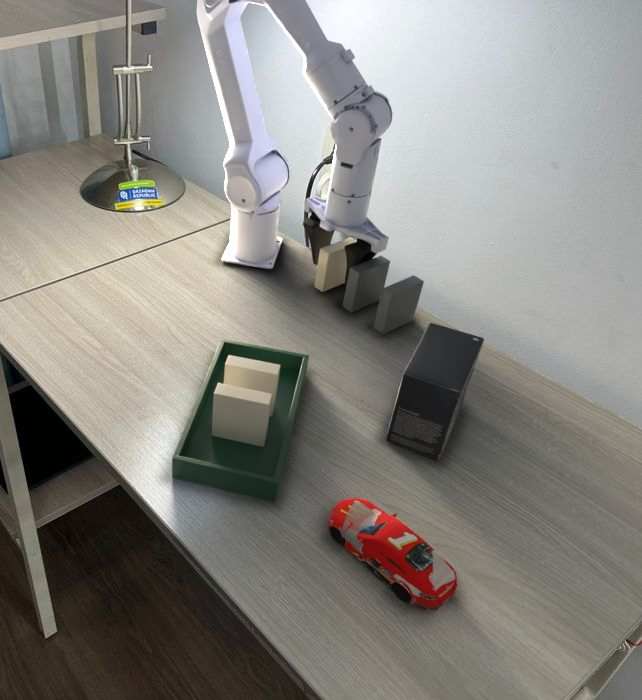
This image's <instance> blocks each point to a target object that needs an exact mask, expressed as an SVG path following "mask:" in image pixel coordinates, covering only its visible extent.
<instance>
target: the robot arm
mask: <svg viewBox="0 0 642 700" xmlns="http://www.w3.org/2000/svg"><path fill="white" fill-rule="evenodd" d="M250 3H251V4H255V5H260V6H264V7H265V8H267V9H268V11H269V12H270V13H271V15H272V16H273V17H274V19H275V20H276V22H277V23H278V24H279V26H280V27H281V28H282V30H283V31H284V33H285V34H286V35H287V37H288V38H289V39H290V41H291V42H292V44H293V45H294V47H295V48H296V49H297V50H298V51H299V53H300V54H301V56H302V57H303V67H302V75H303V76H304V78H305V80H306V81H307V83H308V84H309V85H310V88H311V89H312V90H313V92H314V94H315V95H316V97H317V98H318V100H319V102H320V103H321V104H322V106H323V108H324V109H325V111H326V112H327V114H328V115H329V117H330V118H331V119H332V122H330V125H329V128H330V131H329V132H330V135H331V138H332V140H333V141H334V144H335V146H334V147H335V148H334V153H333V159H332V165H331V170H330V171H331V172H330V177H329V178H330V179H329V184H328V191H327V196H326V197H327V198H326V199H323V198H321V197H319V196H317V195H312V196H310V197H307V198H304V204H303V205H304V207H303V211H304V212H306V213H307V214H310V215H309V217H308V218H305V219H303V221H302V227H303V228H304V230H305V232H306V234H307V237H308V241H309V244H310V250H311V259H312V264H314V266H318V260H319V254H320V249H321V248H323V247H326V246H329V245H331V244H332V239H333V236H334V233H335V232H338V233H341V234H344V235H347V236H350V237H352V238H353V239H355V240H356V242H354V243H351V244H348V245H346V246H345V247H344V249H345V253H346V259H347V268H346V275H345V283H344V285H345V286H346V287H347V281H348V276H349V271H350V268H351V267H353V266H356V265H358V264H361V263H363V262H366V261H368V260H371V259H373V258H375V257H376V255H378V254H379V253H381V252H384V251H386V250H387V248H388V242H389V236H387V235H386V234H384V233H383V232H382V231H381V230H380V229H379V228H378V227H377V226H376V225H375V224H374V222H373V221H372V220H370V218H369V217H368V212H369V207H370V202H371V197H372V192H373V187H374V183H375V177H376V172H377V167H378V161H379V155H380V150H381V149H380V148H381V145H382V138H381V136H382V135H384V134H385V133H386V132H387V130H388V129H389V128H390V126H391V124H392V121H393V110H392V106H391V104H390V102H389V101H390V100H389V98H388V97H387V96H386V95H385V94H384V93H381V92H379V91H375V89H374V88H373V86H372V85H371V84H370V85H369V84H368V83H367V81H366V79H365V78H364V77H363V75H362V74H361V71H360V70H359V69H358V67H357V66H356V64H355V62H354V59H355V58H356V56H355V54H354V53H353V51H352V49H351V48H347V49H345V47H344V45H343V44H342V43H340V42H335V41H332V40H328V38H327V36H326V34H325V33H324V31H323V29H322V27H321V26H320V24H319V22H318V20H317V18H316V17H315V15H314V13H313V11H312V9H311V7H310V6H309V4H308V2H307V1H306V0H197V1H196V18H197V22H198V26H199V30H200V33H201V38H202V41H203V45H204V50H205V53H206V57H207V60H208V64H209V68H210V73H211V76H212V80H213V85H214V87H215V91H216V95H217V99H218V103H219V106H220V110H221V114H222V117H223V123H224V126H225V131H226V133H227V137H228V141H229V148H228V151H227V153H226V155H225V158H224V161H223V164H222V165H223V170H224V174H225V177H224V178H225V179H224V184H223V187H224V188H223V189H224V193H225V197H226V199H227V201H228V202H229V203H230V207H231V213H230V214H231V215H230V227H229V228H230V231H229V243H228V244H227V246H226V249H225V250H224V253H223V255H222V257H221V261H222V262H224V263H228V264H229V263H230V264H235V265H241V266H247V267H254V268H261V269H266V270H272V269H273V268H274V265H275V263H276V260H277V257H278V254H279V252H280V248H281V246H282V243H283V237H281V236H278V227H279V220H280V219H279V218H280V210H281V209H280V208H281V197H282V192H283V191H282V190H283V189H285V188H286V187H287V186H288V185H289V183H290V181H291V178H292V167H291V165H290V162H289V161H288V159H287V158H286V156H285V155H284V153H283V151H282V149H281V146H280V145H281V144H280V142H279V140H278V139H276V138H275V137H274V136H272V135H271V134H269V133H268V130H267V126H266V122H265V118H264V113H263V109H262V104H261V100H260V96H259V91H258V88H257V83H256V79H255V75H254V71H253V67H252V64H251V58H250V54H249V50H248V46H247V45H248V44H247V43H246V42H247V40H246V37H245V32H244V29H243V25H242V20H241V17H242V14H243V13H244V11H245V9H246V7H247V6H248V4H250Z"/></svg>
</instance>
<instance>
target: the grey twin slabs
mask: <svg viewBox="0 0 642 700" xmlns="http://www.w3.org/2000/svg"><path fill="white" fill-rule="evenodd" d="M390 264H391V260H390V259H387V258H386V257H384V256H383V255H378V256H375V257H374V258H373V259H371V260H368V261H366V262H363V263H361V264H358V265H356V266H353V267H351V268H350V271H349V276H348V281H347V286H346V288H345V292H344V298H343V303H342V307H343V308H345V309H346V310H347V311H348V312H350V313H353V312H356V311H358V310H360V309H362V308H365V307H366V306H369V305H371V304H374V303H377V302H378V301H379V302H378V305H377V310H376V315H375V318H374V323H373V329H375V330H376V331H377V332H379V333H380V334H381V335H385V334H387V333H389V332H391V331H393V330H395V329H397V328H399V327H402V326H403V325H406V324H408V323H411V322H412V321H414V318H415V314H416V312H417V308H418V305H419V301H420V297H421V293H422V290H423V286H424V283H425V281H424V280H423V279H421V278H420V277H418V276H416V275H413V274H412V275H411V276H409V277H405V278H404V279H401V280H400V281H396V282H394V283H392V284H389V285H387V286H385V285H386V281H387V277H388V274H389V273H388V272H389V269H390Z"/></svg>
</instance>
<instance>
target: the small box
mask: <svg viewBox="0 0 642 700" xmlns="http://www.w3.org/2000/svg"><path fill="white" fill-rule="evenodd" d="M484 342H485V338H484V337H482V336H478V335H475V334H472V333H469V332H464V331H461V330H458V329H454V328H451V327H447V326H444V325H441V324H438V323H434V322H429V324H428V326H427V327H426V329H425V330H424V333H423V335H422V337H421V339H420V341H419V343H418V345H417V346H416V349H415V350H414V352H413V354H412V356H411V358H410V359H409V362H408V364H407V365H406V367H405V369H404V371H403V374H402V376H401V379H400V383H399V386H398V389H397V390H398V391H397V394H396V397H395V398H396V399H395V402H394V406H393V409H392V412H391V413H392V414H391V417H390V421H389V425H388V429H387V433H386V437H385V441H386V442H388V443H390V444H393V445H396V446H398V447H401V448H404V449H406V450H409V451H411V452H414V453H416V454H419V455H421V456H424V457H427V458H429V459H432V460H434V461H440V459H441V457H442V455H443V453H444V450H445V448H446V445H447V443H448V441H449V438H450V436H451V433H452V431H453V428H454V427H455V424H456V422H457V419H458V417H459V414H460V412H461V409H462V407H463V403H464V400H465V397H466V394H467V391H468V387H469V385H470V381H471V378H472V375H473V373H474V370H475V367H476V364H477V361H478V358H479V356H480V354H481V350H482V348H483V344H484Z"/></svg>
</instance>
